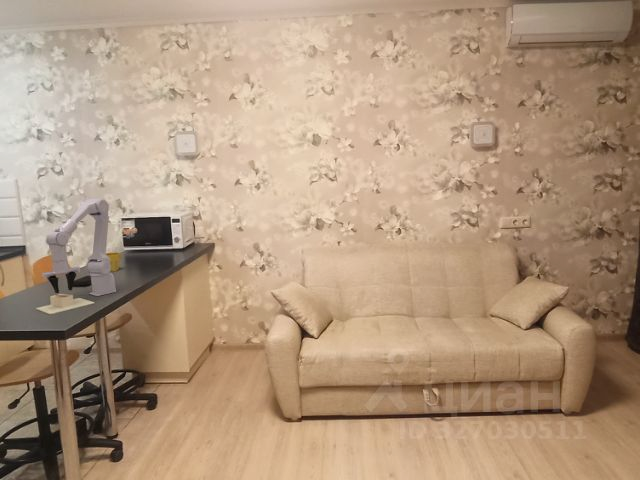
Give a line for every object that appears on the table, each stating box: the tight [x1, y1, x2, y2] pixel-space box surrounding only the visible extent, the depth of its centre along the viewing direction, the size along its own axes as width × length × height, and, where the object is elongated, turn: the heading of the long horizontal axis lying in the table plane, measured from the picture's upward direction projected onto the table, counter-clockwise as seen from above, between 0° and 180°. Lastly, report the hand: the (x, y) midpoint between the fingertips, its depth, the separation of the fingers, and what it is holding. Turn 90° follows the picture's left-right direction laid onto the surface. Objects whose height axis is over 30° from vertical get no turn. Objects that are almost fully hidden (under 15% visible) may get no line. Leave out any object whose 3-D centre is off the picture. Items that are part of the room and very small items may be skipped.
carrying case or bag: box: [72, 275, 92, 288], centre depth 238 cm, size 11×3×15 cm
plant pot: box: [106, 251, 122, 273], centre depth 267 cm, size 10×10×10 cm
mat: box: [35, 297, 95, 316], centre depth 198 cm, size 18×14×1 cm
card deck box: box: [49, 293, 75, 308], centre depth 199 cm, size 8×5×4 cm, turn 64°
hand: (63, 291), depth 197 cm, fingers open, 5 cm apart
